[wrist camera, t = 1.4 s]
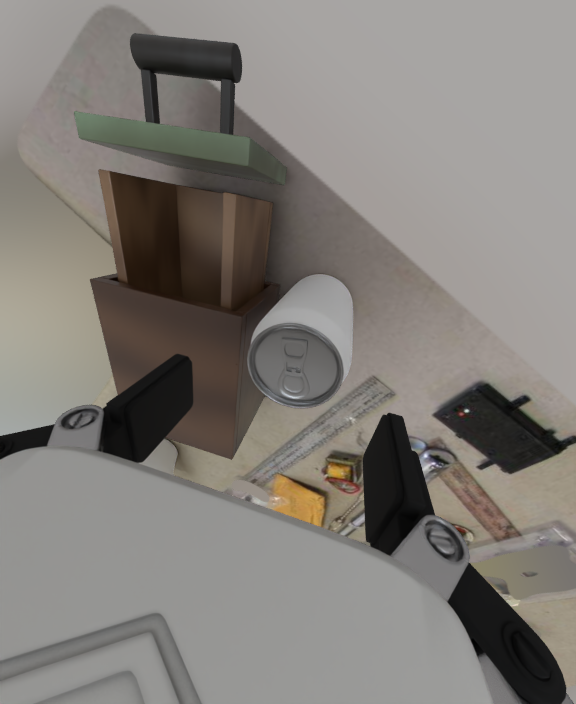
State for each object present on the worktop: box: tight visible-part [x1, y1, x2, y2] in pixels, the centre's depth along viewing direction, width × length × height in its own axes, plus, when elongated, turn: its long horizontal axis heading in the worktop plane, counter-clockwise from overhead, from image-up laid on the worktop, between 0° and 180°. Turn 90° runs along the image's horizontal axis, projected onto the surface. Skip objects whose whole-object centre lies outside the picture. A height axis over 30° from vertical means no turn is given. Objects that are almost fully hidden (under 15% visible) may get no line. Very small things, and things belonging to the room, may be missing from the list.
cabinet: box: [90, 273, 280, 460], centre depth 24 cm, size 15×12×10 cm
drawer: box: [74, 33, 287, 311], centre depth 19 cm, size 18×10×8 cm, turn 171°
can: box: [247, 274, 353, 408], centre depth 19 cm, size 6×6×12 cm
